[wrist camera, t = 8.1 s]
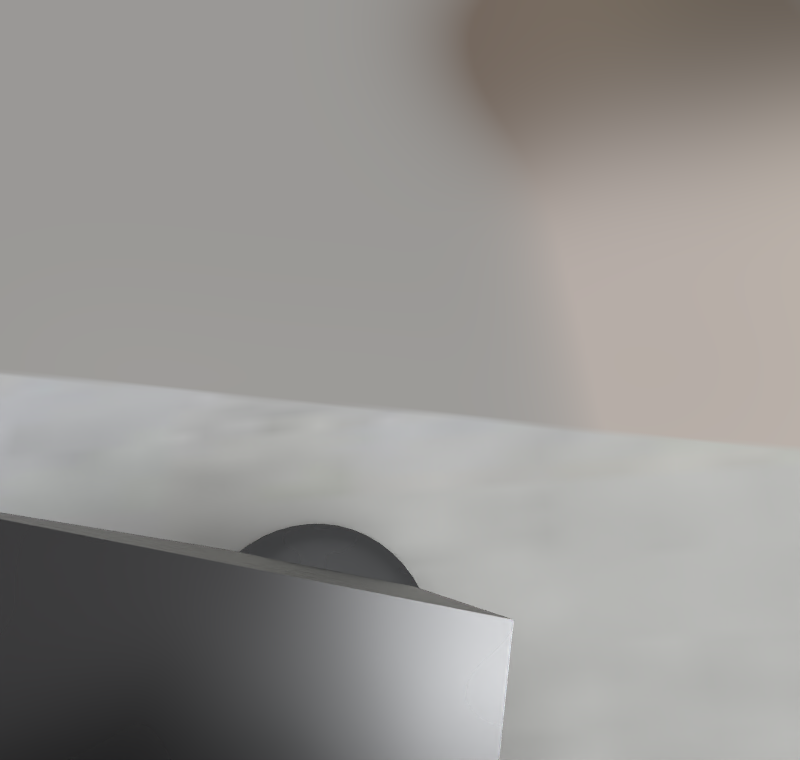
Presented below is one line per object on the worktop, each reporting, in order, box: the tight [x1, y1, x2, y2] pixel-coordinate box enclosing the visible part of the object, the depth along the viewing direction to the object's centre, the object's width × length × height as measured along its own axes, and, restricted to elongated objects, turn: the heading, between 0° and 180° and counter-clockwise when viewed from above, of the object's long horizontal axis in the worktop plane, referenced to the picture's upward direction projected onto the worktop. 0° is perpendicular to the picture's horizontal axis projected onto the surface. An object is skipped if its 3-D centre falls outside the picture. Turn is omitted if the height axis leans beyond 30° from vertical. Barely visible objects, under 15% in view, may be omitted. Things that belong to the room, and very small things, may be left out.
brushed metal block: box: [0, 513, 514, 760], centre depth 9 cm, size 5×5×12 cm
